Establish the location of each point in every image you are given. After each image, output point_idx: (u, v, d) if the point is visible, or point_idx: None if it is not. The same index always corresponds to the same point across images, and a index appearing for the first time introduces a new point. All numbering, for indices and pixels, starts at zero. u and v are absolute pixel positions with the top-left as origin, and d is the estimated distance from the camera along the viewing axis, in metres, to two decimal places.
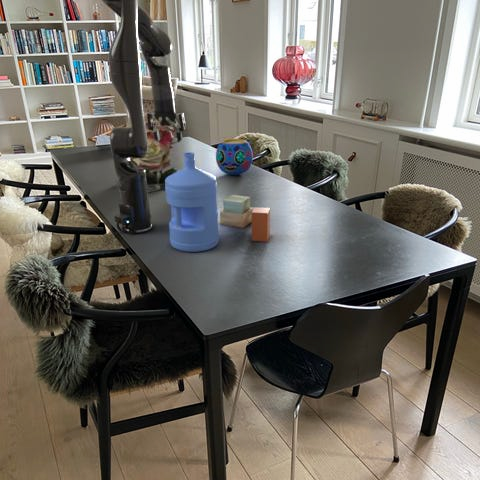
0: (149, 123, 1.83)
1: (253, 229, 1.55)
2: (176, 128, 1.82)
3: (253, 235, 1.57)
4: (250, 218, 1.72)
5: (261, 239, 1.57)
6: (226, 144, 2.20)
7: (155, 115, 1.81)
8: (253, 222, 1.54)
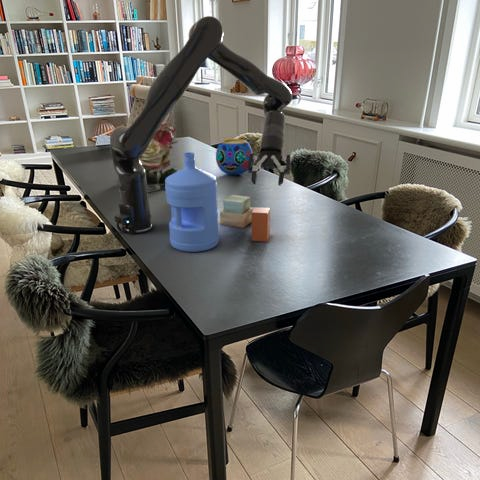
0: (250, 162, 1.63)
1: (253, 229, 1.55)
2: (280, 168, 1.61)
3: (253, 235, 1.57)
4: (250, 218, 1.72)
5: (261, 239, 1.57)
6: (226, 144, 2.20)
7: (259, 155, 1.63)
8: (253, 222, 1.54)
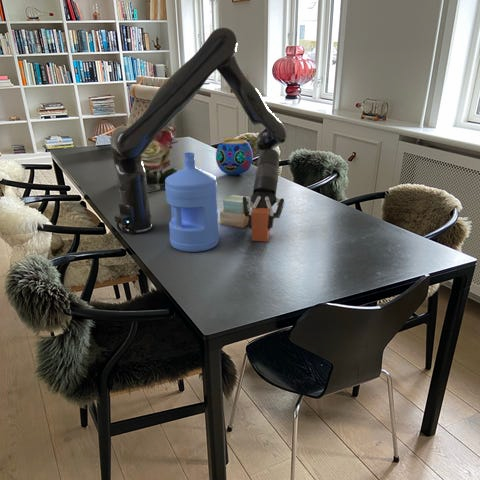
0: (245, 206, 1.57)
1: (253, 229, 1.55)
2: (270, 212, 1.55)
3: (253, 235, 1.57)
4: None
5: (261, 239, 1.57)
6: (226, 144, 2.20)
7: (252, 196, 1.58)
8: (253, 222, 1.54)
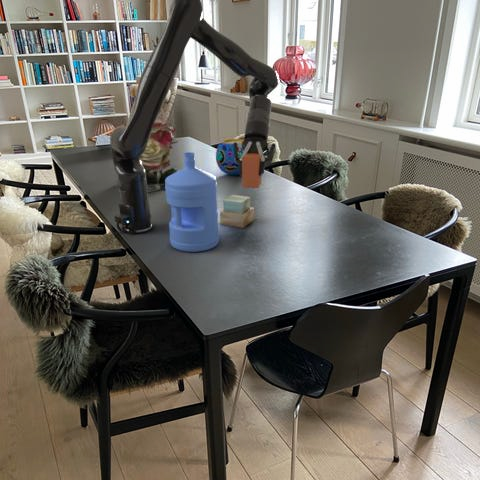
0: (236, 152, 1.54)
1: (244, 175, 1.52)
2: (261, 157, 1.52)
3: (244, 181, 1.53)
4: (250, 218, 1.72)
5: (252, 185, 1.53)
6: (226, 144, 2.20)
7: (243, 142, 1.54)
8: (244, 167, 1.51)
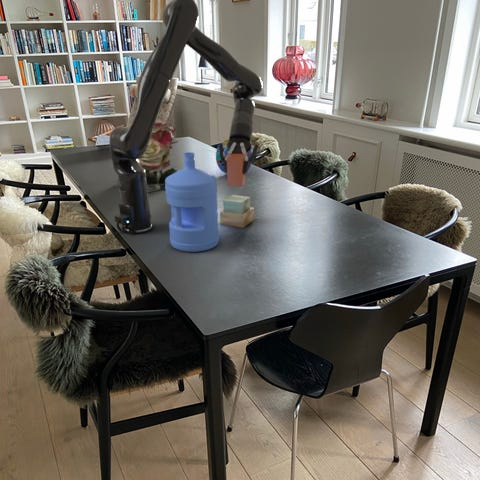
0: (221, 152, 1.64)
1: (229, 174, 1.62)
2: (245, 157, 1.62)
3: (229, 180, 1.64)
4: (250, 218, 1.72)
5: (237, 184, 1.64)
6: None
7: (228, 143, 1.65)
8: (228, 166, 1.61)
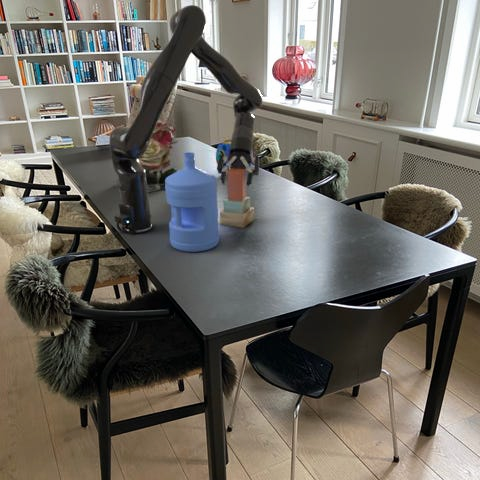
0: (219, 163, 1.67)
1: (229, 189, 1.65)
2: (249, 168, 1.64)
3: (229, 195, 1.66)
4: (250, 218, 1.72)
5: (237, 198, 1.66)
6: (226, 144, 2.20)
7: (229, 156, 1.67)
8: (229, 182, 1.64)
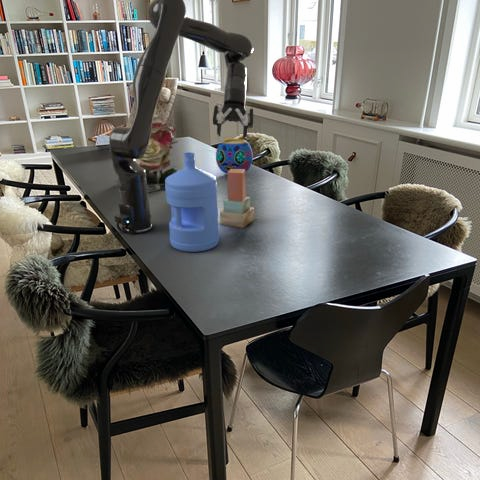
0: (215, 114, 1.70)
1: (229, 189, 1.65)
2: (244, 121, 1.70)
3: (229, 195, 1.66)
4: (250, 218, 1.72)
5: (237, 198, 1.66)
6: (226, 144, 2.20)
7: (223, 108, 1.71)
8: (229, 182, 1.64)
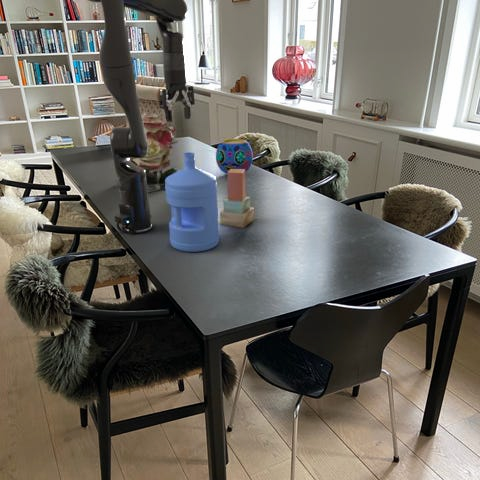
0: (165, 100, 1.62)
1: (229, 189, 1.65)
2: (188, 102, 1.69)
3: (229, 195, 1.66)
4: (250, 218, 1.72)
5: (237, 198, 1.66)
6: (226, 144, 2.20)
7: (170, 90, 1.62)
8: (229, 182, 1.64)
